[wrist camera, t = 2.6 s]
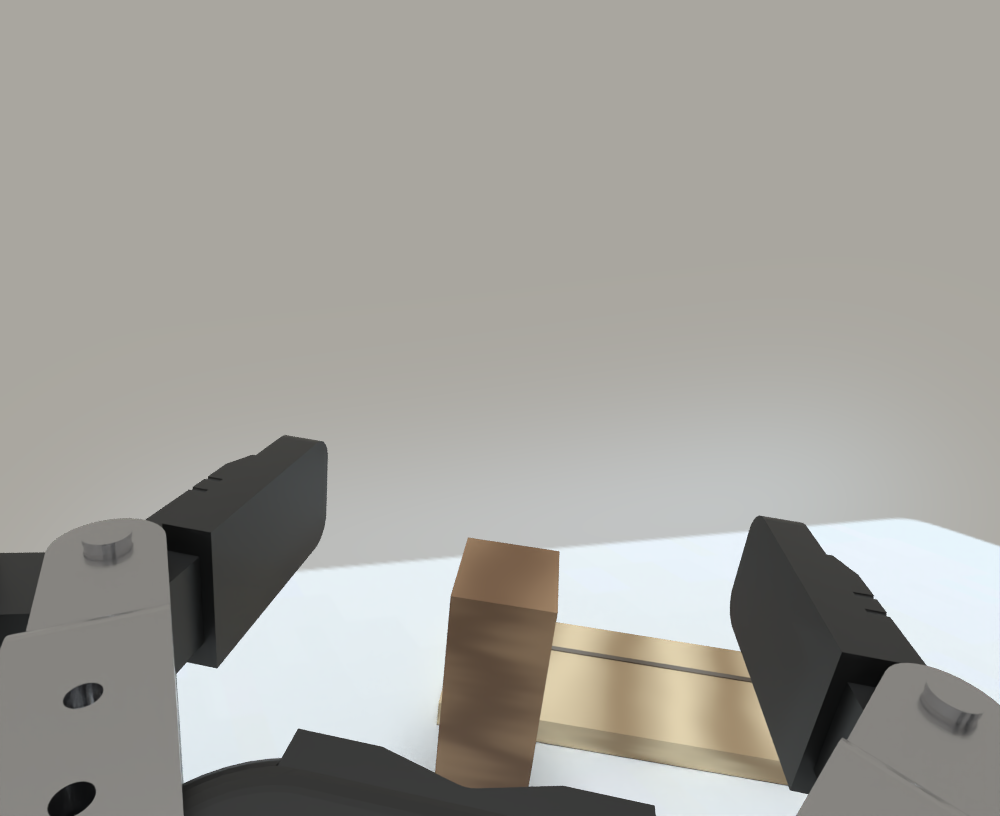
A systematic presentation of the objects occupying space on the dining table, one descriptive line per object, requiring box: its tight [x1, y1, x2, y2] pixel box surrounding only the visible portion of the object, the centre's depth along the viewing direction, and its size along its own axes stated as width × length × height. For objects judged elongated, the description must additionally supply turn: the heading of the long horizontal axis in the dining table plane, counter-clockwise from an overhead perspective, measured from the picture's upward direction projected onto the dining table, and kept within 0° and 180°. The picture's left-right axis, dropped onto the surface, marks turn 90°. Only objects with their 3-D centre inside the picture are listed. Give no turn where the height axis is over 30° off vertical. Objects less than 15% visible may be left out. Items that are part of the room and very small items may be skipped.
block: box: [435, 538, 559, 788], centre depth 31 cm, size 4×13×14 cm, turn 174°
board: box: [437, 622, 788, 785], centre depth 36 cm, size 22×8×2 cm, turn 83°
